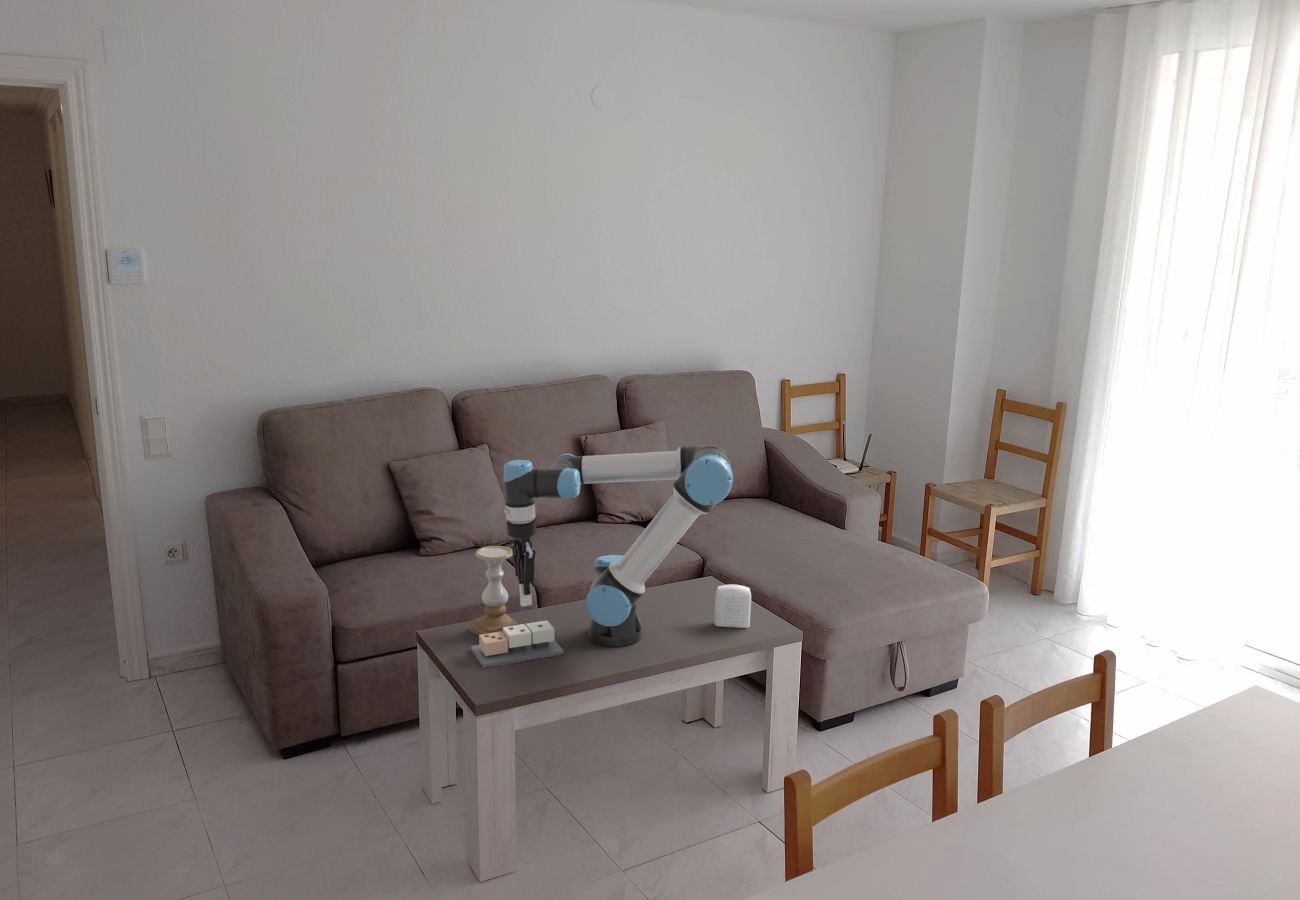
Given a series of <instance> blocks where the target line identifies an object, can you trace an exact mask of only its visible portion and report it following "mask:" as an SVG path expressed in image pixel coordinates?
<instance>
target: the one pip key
mask: <svg viewBox="0 0 1300 900" xmlns="http://www.w3.org/2000/svg"><path fill="white" fill-rule="evenodd" d="M525 626H526V627H527V628H528V629H529V630H530V631H531V642H532V644H538V643H544V642H550V641H554V640H555V627H553V625H552V624H551V623H550V622H549V621H548V620H541V621H535V622H530V623H529V622H528V623H525Z"/></svg>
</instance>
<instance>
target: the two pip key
mask: <svg viewBox="0 0 1300 900" xmlns="http://www.w3.org/2000/svg"><path fill="white" fill-rule="evenodd" d="M503 635H504V636H505V637H506V639H507V640H508V647H509V648H514V647H520V646H526V645H531V631H530V630H529V629H528V628H527V627H526V623H522V624H521V623H520V624H518V625H514V626H508V627H503Z"/></svg>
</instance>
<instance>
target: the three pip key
mask: <svg viewBox="0 0 1300 900" xmlns="http://www.w3.org/2000/svg"><path fill="white" fill-rule="evenodd" d="M478 645H479V647H480V649H481V650H482V652H483V653H484V655H485V656H489V655H495V654H501V653H507V652H508V640H507V639H506V637H505V636H504V635H503V633H502V632H495V633H488V634H482V635H479V637H478Z"/></svg>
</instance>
